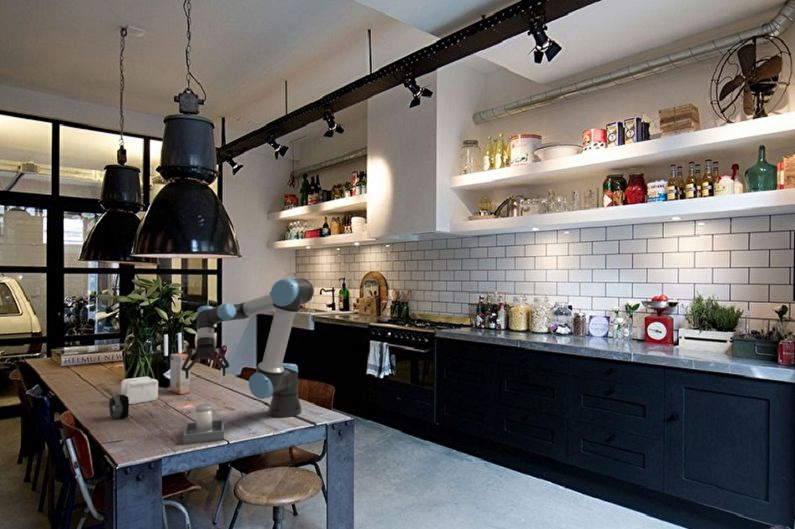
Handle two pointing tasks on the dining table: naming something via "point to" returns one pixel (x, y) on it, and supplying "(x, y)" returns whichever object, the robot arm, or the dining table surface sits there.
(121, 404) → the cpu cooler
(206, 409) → the grey lidded jar
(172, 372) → the cracker box
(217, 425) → the parts tray
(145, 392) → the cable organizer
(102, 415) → the dining table surface
